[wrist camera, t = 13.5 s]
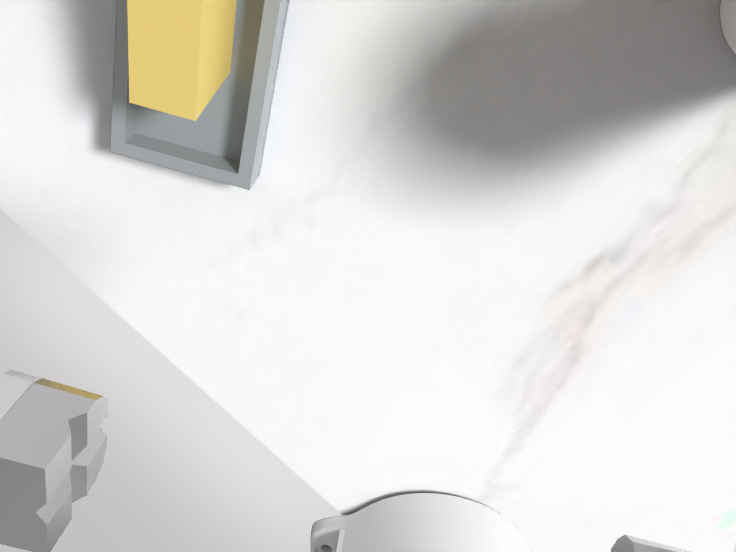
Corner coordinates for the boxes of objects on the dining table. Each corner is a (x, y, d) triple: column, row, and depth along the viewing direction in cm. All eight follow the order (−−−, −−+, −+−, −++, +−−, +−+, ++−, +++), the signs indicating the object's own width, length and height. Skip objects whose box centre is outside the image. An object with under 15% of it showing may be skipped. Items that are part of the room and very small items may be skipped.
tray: (259, 174, 38) (249, 190, 36) (126, 138, 37) (110, 151, 36) (309, -123, 30) (300, -122, 28) (143, -171, 30) (124, -172, 28)
